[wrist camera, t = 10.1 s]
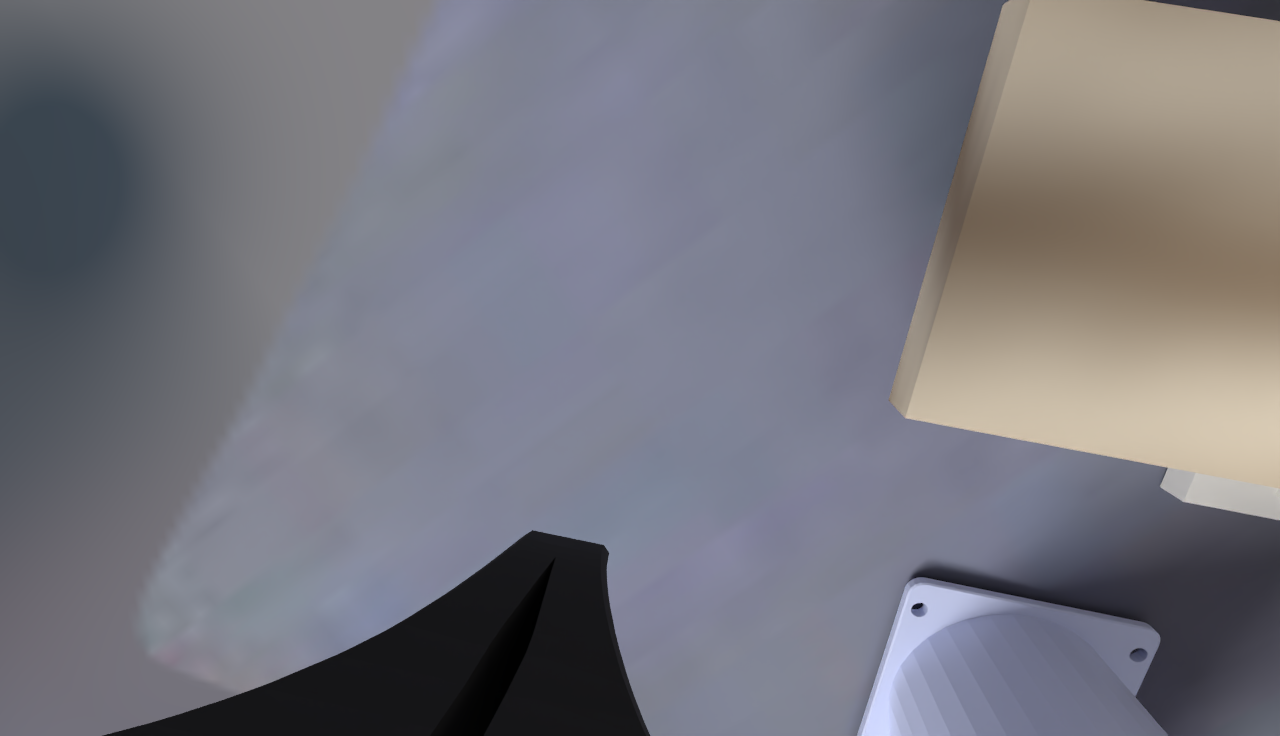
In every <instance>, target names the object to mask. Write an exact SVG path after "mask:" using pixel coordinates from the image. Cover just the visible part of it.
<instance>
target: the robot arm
mask: <svg viewBox="0 0 1280 736" xmlns="http://www.w3.org/2000/svg"><path fill="white" fill-rule="evenodd" d="M608 556H609V552H608V551H607V549H606V548H605V546H604V545H600V544H596V543H591V542H586V541H581V540H576V539H571V538H567V537H562V536H557V535H552V534H547V533H542V532H537V531H533V530H532V531H531V532H529V533H528V534H526V535H525V536H523V537H522V538H521V539H519V540H518V541H517V542H516V543H514V544H513V545H512V546H510V547H509V548H508V549H507V550H505V551H504V552H503V553H502V554H500V555H499V556H498V557H496V558H495V559H494V560H492V561H491V562H490V563H488V564H487V565H486V566H484V567H483V568H482V569H480V570H479V571H478V572H476V573H475V574H473V575H472V576H471V577H469V578H468V579H466V580H465V581H464V582H462V583H461V584H459V585H458V586H457V587H455V588H454V589H452V590H451V591H449V592H448V593H446V594H445V595H443V596H442V597H440V598H439V599H437V600H435V601H434V602H432V603H431V604H429V605H428V606H426V607H424V608H423V609H421V610H420V611H418V612H416V613H415V614H413V615H412V616H410V617H408V618H407V619H405V620H403V621H402V622H400V623H398V624H397V625H395V626H393V627H391V628H390V629H388V630H386V631H384V632H382V633H380V634H378V635H376V636H374V637H372V638H370V639H368V640H366V641H364V642H362V643H360V644H358V645H356V646H354V647H353V648H350V649H348V650H346V651H344V652H342V653H340V654H338V655H335V656H333V657H331V658H328V659H326V660H324V661H321V662H319V663H317V664H314V665H312V666H309V667H307V668H305V669H302V670H300V671H298V672H295V673H293V674H290V675H288V676H286V677H283V678H281V679H279V680H276V681H274V682H271V683H269V684H266V685H264V686H261V687H258V688H255V689H253V690H250V691H247V692H244V693H241V694H239V695H236V696H233V697H230V698H227V699H225V700H222V701H219V702H216V703H213V704H209V705H207V706H203V707H200V708H197V709H194V710H191V711H188V712H185V713H182V714H179V715H176V716H172V717H169V718H166V719H162V720H159V721H156V722H152V723H149V724H145V725H141V726H137V727H134V728H130V729H126V730H123V731H119V732H115V733H112V734H107V735H104V736H650V734H649V732H648V730H647V727H646V725H645V723H644V720H643V718H642V715H641V713H640V710H639V708H638V705H637V703H636V700H635V697H634V695H633V692H632V689H631V686H630V683H629V680H628V677H627V674H626V671H625V667H624V664H623V660H622V657H621V653H620V650H619V646H618V642H617V638H616V634H615V629H614V624H613V619H612V614H611V609H610V603H609V596H608V587H607V561H608ZM916 603H923V606H922V607H921V608H919V609H911V608H912V606H913V605H914V604H916ZM1160 640H1161V639H1160V636H1159V634H1158V633H1157V632H1156V631H1155V630H1154V629H1153V628H1152V627H1151V626H1150V625H1149V624H1147V623H1144V622H1141V621H1136V620H1131V619H1126V618H1121V617H1116V616H1111V615H1106V614H1101V613H1097V612H1092V611H1087V610H1082V609H1077V608H1072V607H1067V606H1062V605H1057V604H1052V603H1047V602H1042V601H1038V600H1033V599H1028V598H1023V597H1018V596H1013V595H1008V594H1003V593H998V592H993V591H988V590H984V589H979V588H974V587H969V586H964V585H959V584H954V583H949V582H944V581H939V580H934V579H929V578H924V577H918V578H915V579H912V580H911V581H909V582H908V583H907V585H906V587H905V589H904V592H903V595H902V599H901V602H900V605H899V608H898V611H897V614H896V617H895V620H894V623H893V626H892V629H891V633H890V636H889V639H888V642H887V645H886V648H885V651H884V654H883V657H882V660H881V663H880V667H879V670H878V673H877V676H876V679H875V682H874V685H873V688H872V691H871V694H870V697H869V700H868V704H867V707H866V710H865V713H864V716H863V719H862V722H861V725H860V728H859V731H858V734H857V736H1168V734H1167V733H1166V732H1165V731H1164V730H1163V729H1162V727H1161V726H1160V725H1159V724H1158V723H1157V722H1156V721H1155V719H1154V718H1153V717H1152V716H1151V715H1150V714H1149V712H1148V711H1147V710H1146V709H1145V708H1144V707H1143V705H1142V704H1141V703H1140V702H1139V701H1138V700H1137V698H1136V697H1135V696H1136V694H1137V692H1138V690H1139V688H1140V686H1141V684H1142V681H1143V679H1144V677H1145V675H1146V673H1147V671H1148V668H1149V666H1150V664H1151V662H1152V660H1153V658H1154V655H1155V653H1156V651H1157V649H1158V647H1159V645H1160ZM1137 648H1139V649H1138V650H1137V652H1135V653H1132V654H1130V653H1131V652H1132V650H1134V649H1137Z"/></svg>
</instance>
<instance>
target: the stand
mask: <svg viewBox="0 0 1280 736" xmlns="http://www.w3.org/2000/svg"><path fill="white" fill-rule="evenodd" d="M1160 487H1161V488H1162V489H1164V490H1165V491H1167V492H1169V493H1170V494H1172V495H1173V496H1175V497H1177V498H1178V499H1180V500H1181V501H1183V502H1187V503H1192V504H1198V505H1203V506H1208V507H1213V508H1218V509H1224V510H1229V511H1234V512H1239V513H1244V514H1249V515H1255V516H1260V517H1265V518H1270V519H1275V520H1280V489H1279V488H1274V487H1269V486H1264V485H1258V484H1253V483H1248V482H1242V481H1237V480H1232V479H1226V478H1221V477H1216V476H1210V475H1205V474H1200V473H1194V472H1189V471H1184V470H1179V469H1173V468H1168V469H1167V471H1166V474H1165V476H1164V478H1163V481H1162V483H1161V485H1160Z"/></svg>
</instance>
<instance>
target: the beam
mask: <svg viewBox="0 0 1280 736" xmlns="http://www.w3.org/2000/svg"><path fill="white" fill-rule="evenodd" d="M889 401H890V402H891V403H892V404H893V405H894V406H895V408H896V409H897V410H898V411H899V412H900V413H901V414H902V415H903V416H904V417H905V418H908V419H913V420H918V421H924V422H929V423H934V424H939V425H945V426H950V427H955V428H961V429H966V430H971V431H977V432H982V433H987V434H993V435H998V436H1003V437H1009V438H1014V439H1019V440H1024V441H1030V442H1035V443H1040V444H1046V445H1051V446H1056V447H1062V448H1067V449H1072V450H1078V451H1083V452H1088V453H1094V454H1099V455H1104V456H1109V457H1115V458H1120V459H1125V460H1131V461H1136V462H1141V463H1147V464H1152V465H1157V466H1163V467H1168V468H1173V469H1179V470H1184V471H1189V472H1194V473H1200V474H1205V475H1210V476H1216V477H1221V478H1226V479H1232V480H1237V481H1242V482H1248V483H1253V484H1258V485H1264V486H1269V487H1274V488H1279V489H1280V21H1276V20H1269V19H1262V18H1256V17H1249V16H1243V15H1236V14H1230V13H1223V12H1217V11H1210V10H1204V9H1197V8H1191V7H1184V6H1178V5H1171V4H1165V3H1158V2H1152V1H1145V0H1009V1H1008V2H1006V3H1005V4H1003V7H1002V10H1001V13H1000V17H999V20H998V24H997V27H996V31H995V34H994V38H993V41H992V45H991V48H990V52H989V55H988V58H987V62H986V65H985V69H984V72H983V76H982V79H981V83H980V86H979V90H978V93H977V97H976V100H975V103H974V107H973V110H972V114H971V117H970V121H969V124H968V128H967V131H966V135H965V138H964V141H963V145H962V148H961V152H960V155H959V159H958V162H957V166H956V169H955V173H954V176H953V180H952V183H951V186H950V190H949V193H948V197H947V200H946V204H945V207H944V211H943V214H942V218H941V221H940V225H939V228H938V231H937V235H936V238H935V242H934V245H933V249H932V252H931V256H930V259H929V263H928V266H927V270H926V273H925V276H924V280H923V283H922V287H921V290H920V294H919V297H918V301H917V304H916V308H915V311H914V314H913V318H912V321H911V325H910V328H909V332H908V335H907V339H906V342H905V346H904V349H903V353H902V356H901V359H900V363H899V366H898V370H897V373H896V377H895V380H894V384H893V387H892V391H891V394H890V398H889Z"/></svg>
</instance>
